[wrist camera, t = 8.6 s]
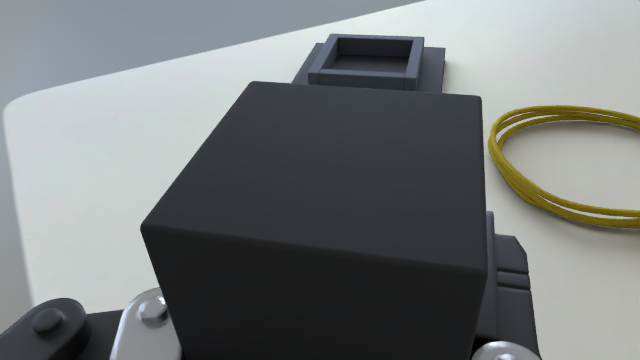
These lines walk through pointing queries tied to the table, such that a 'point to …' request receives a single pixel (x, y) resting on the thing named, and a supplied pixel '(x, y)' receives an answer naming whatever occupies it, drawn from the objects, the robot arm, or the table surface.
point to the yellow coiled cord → (532, 191)
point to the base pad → (374, 63)
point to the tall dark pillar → (328, 228)
